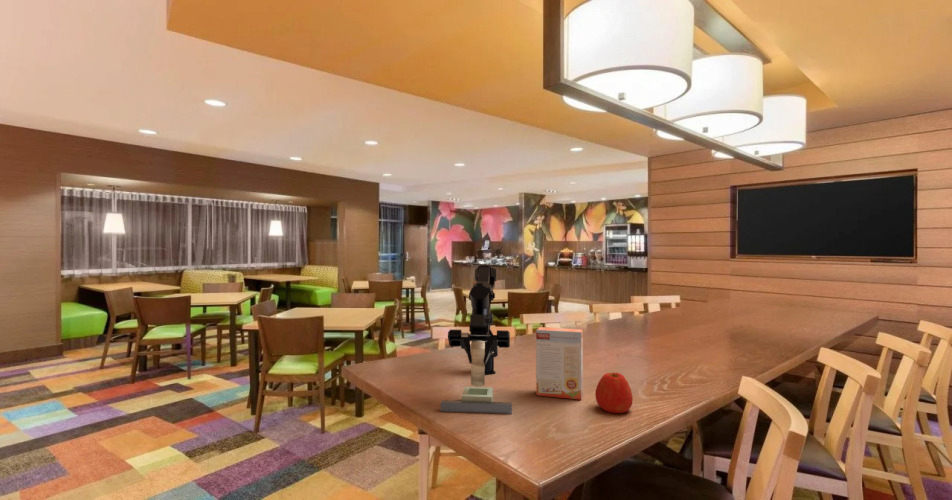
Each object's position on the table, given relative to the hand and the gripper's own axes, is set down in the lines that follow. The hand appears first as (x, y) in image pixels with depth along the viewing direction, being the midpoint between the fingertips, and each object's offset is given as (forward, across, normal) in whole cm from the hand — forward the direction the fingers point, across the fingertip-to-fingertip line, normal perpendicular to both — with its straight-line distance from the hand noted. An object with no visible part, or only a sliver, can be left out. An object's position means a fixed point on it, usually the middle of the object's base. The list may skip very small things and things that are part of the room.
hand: (477, 363), depth 128 cm
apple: (+8, +39, +10) cm, 41 cm away
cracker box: (+1, +25, +17) cm, 30 cm away
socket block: (+8, 0, +10) cm, 13 cm away
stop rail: (+12, 0, +6) cm, 13 cm away
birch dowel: (+4, 0, +6) cm, 7 cm away
